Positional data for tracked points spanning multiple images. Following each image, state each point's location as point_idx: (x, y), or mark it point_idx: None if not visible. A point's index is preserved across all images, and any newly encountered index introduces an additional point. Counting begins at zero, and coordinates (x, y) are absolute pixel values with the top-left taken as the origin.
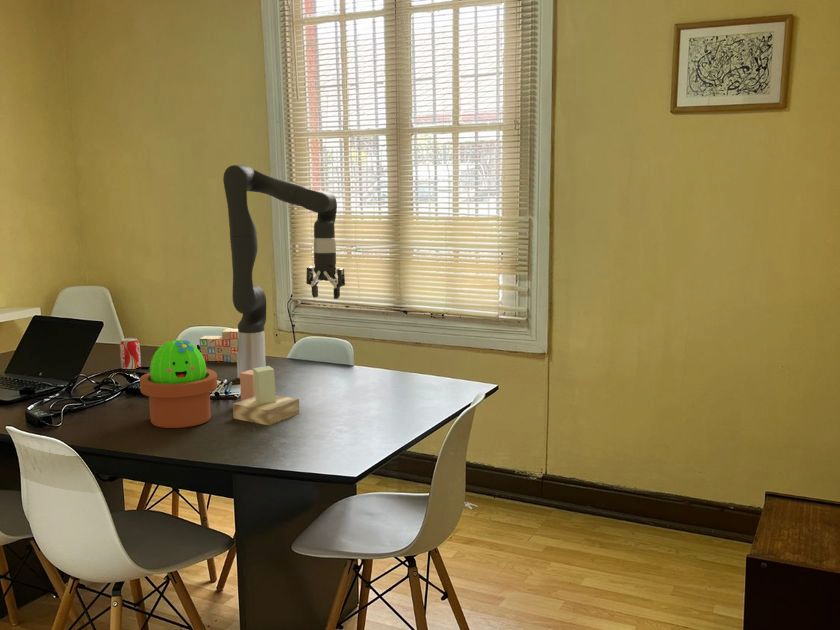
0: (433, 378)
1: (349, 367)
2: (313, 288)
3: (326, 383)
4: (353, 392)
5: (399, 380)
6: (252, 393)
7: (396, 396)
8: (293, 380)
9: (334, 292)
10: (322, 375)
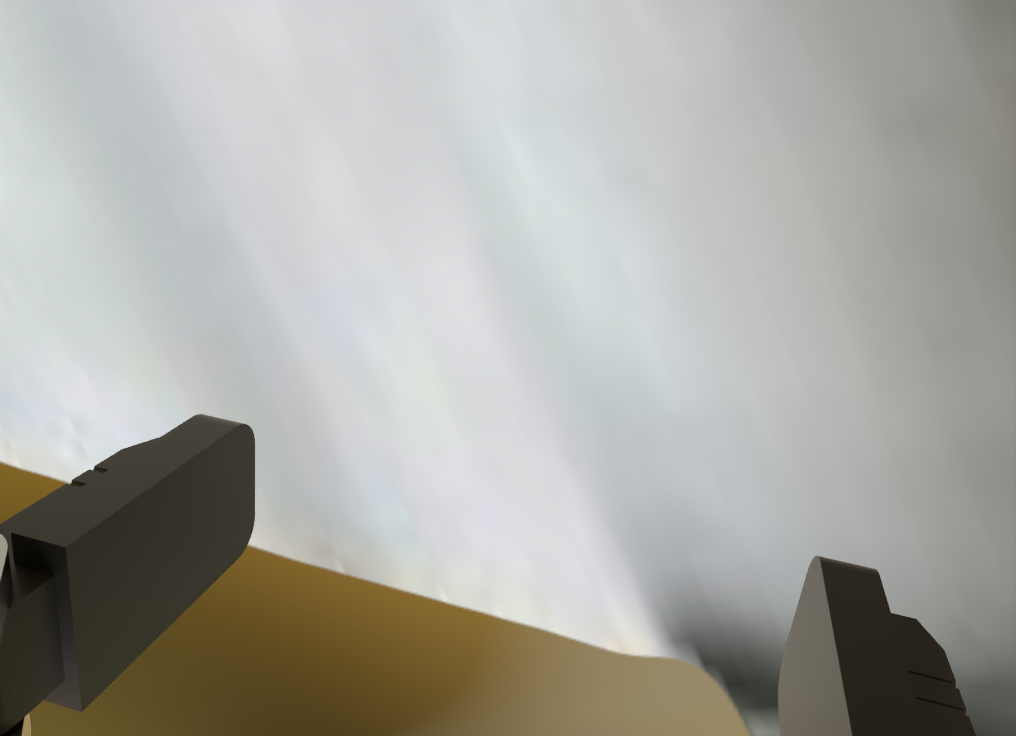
0: None
1: (686, 637)
2: (888, 730)
3: (668, 194)
4: (382, 18)
5: (263, 395)
6: None
7: (106, 25)
8: (971, 203)
9: (123, 478)
10: (790, 403)
